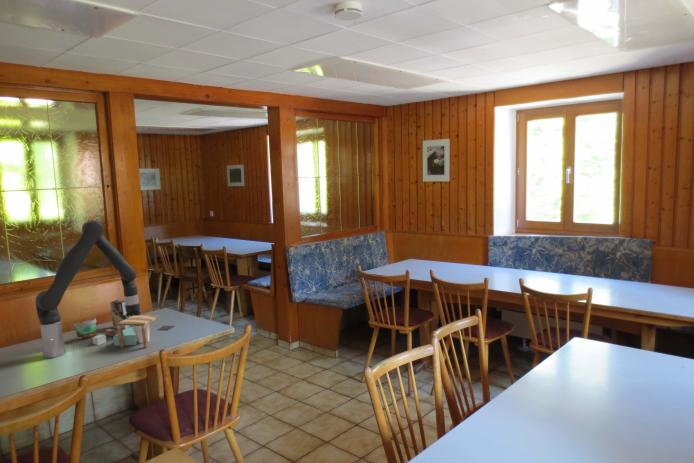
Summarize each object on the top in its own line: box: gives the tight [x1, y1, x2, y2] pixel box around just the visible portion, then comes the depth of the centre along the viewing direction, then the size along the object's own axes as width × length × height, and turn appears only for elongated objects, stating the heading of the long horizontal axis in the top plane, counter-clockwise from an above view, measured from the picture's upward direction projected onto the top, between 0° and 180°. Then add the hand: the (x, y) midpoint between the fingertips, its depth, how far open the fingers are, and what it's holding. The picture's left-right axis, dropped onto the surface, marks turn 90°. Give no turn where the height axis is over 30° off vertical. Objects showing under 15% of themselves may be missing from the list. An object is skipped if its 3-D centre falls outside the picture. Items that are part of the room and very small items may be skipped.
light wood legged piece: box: [116, 314, 161, 349], centre depth 264 cm, size 14×16×13 cm
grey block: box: [91, 334, 107, 346], centre depth 269 cm, size 5×4×4 cm
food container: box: [73, 317, 98, 341], centre depth 279 cm, size 12×6×10 cm, turn 143°
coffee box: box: [109, 299, 130, 330], centre depth 296 cm, size 9×6×16 cm
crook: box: [112, 325, 138, 347], centre depth 273 cm, size 22×12×5 cm, turn 175°
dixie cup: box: [133, 322, 151, 344], centre depth 266 cm, size 8×8×10 cm
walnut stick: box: [104, 328, 118, 336], centre depth 282 cm, size 12×2×3 cm, turn 70°
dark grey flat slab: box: [156, 325, 175, 331], centre depth 288 cm, size 7×7×1 cm
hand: (135, 331), depth 283 cm, fingers closed on crook, 3 cm apart
